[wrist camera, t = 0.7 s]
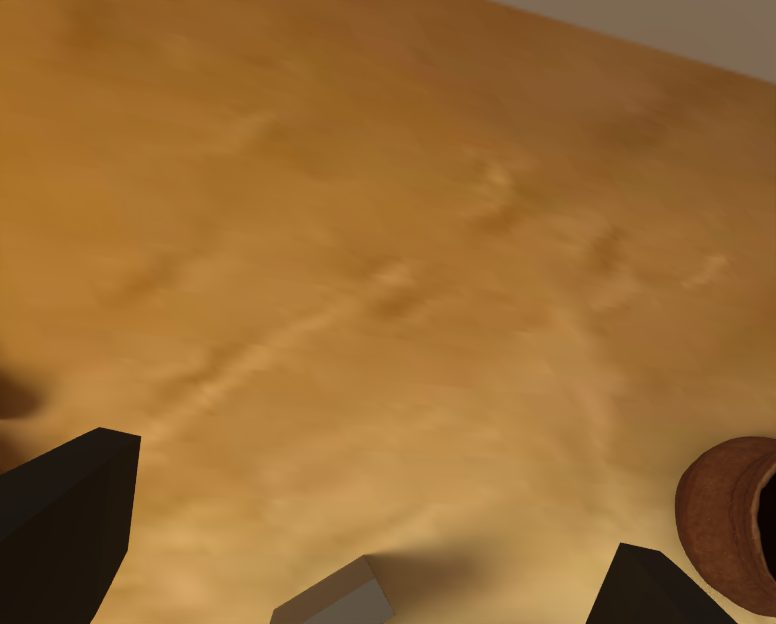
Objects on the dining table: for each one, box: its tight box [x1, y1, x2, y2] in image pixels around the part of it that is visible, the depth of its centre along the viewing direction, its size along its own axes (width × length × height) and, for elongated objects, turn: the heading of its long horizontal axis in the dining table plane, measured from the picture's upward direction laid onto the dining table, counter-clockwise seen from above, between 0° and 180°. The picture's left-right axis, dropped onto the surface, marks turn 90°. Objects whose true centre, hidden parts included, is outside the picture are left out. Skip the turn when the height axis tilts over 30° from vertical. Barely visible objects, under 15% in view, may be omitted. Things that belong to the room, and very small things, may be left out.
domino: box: [270, 555, 395, 624], centre depth 28 cm, size 2×5×7 cm, turn 120°
